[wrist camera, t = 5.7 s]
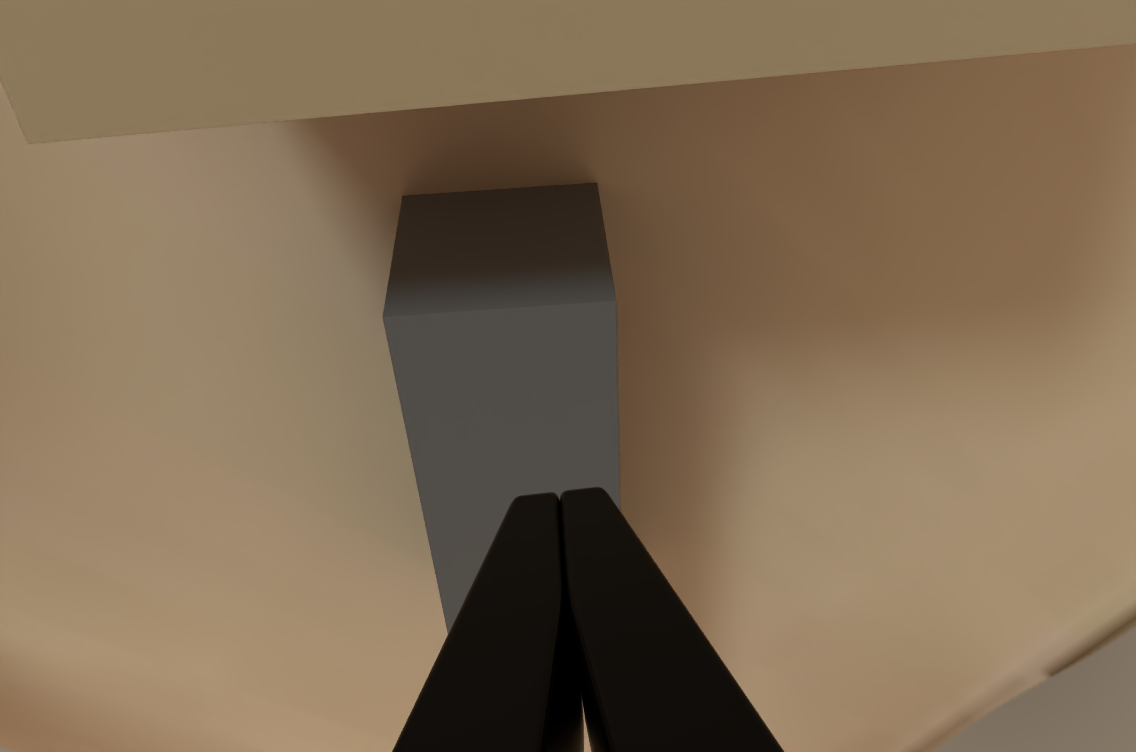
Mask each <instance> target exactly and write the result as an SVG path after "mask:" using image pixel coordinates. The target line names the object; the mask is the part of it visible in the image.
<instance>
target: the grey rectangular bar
mask: <svg viewBox="0 0 1136 752" xmlns="http://www.w3.org/2000/svg"><path fill="white" fill-rule="evenodd" d="M383 321H384V326H385V331H386V336H387V340H388V345H389V350H390V355H391V360H392V365H393V370H394V374H395V379H396V384H397V389H398V394H399V399H400V404H401V408H402V413H403V418H404V423H405V428H406V433H407V438H408V442H409V447H410V452H411V457H412V462H413V467H414V472H415V476H416V481H417V486H418V491H419V496H420V501H421V506H422V510H423V515H424V520H425V525H426V530H427V535H428V540H429V544H430V549H431V554H432V559H433V564H434V569H435V574H436V578H437V583H438V588H439V593H440V598H441V603H442V608H443V612H444V617H445V622H446V627H447V632H448V634H449V632H450V630H451V627H452V625H453V623H454V621H455V619H456V617H457V615H458V613H459V611H460V609H461V607H462V604H463V602H464V600H465V598H466V596H467V594H468V592H469V590H470V588H471V586H472V584H473V581H474V579H475V577H476V575H477V573H478V571H479V569H480V567H481V565H482V563H483V561H484V558H485V556H486V554H487V552H488V550H489V548H490V546H491V544H492V542H493V540H494V538H495V535H496V533H497V531H498V529H499V527H500V525H501V523H502V521H503V519H504V517H505V515H506V512H507V510H508V508H509V506H510V504H511V503H512V501H513V500H514V499H515V498H516V497H518V496H521V495H530V494H539V493H547V492H553V493H555V494H557V496H558V497H559V500H560V496H561V494H562V493H563V492H564V491H566V490H574V489H582V488H591V487H601V488H603V489H604V490H605V491H606V492H607V493H608V494H609V495H610V497H611V498H612V500H613V501H614V503H615V504H616V506H617V507H618V509H619V510H620V468H619V417H618V365H617V313H616V296H615V290H614V284H613V278H612V271H611V265H610V259H609V253H608V247H607V241H606V235H605V229H604V222H603V216H602V210H601V204H600V198H599V192H598V186H597V183H586V184H571V185H556V186H541V187H527V188H512V189H497V190H482V191H467V192H452V193H438V194H423V195H408V196H403V197H402V203H401V209H400V215H399V221H398V227H397V233H396V239H395V245H394V251H393V257H392V263H391V269H390V275H389V281H388V288H387V294H386V300H385V306H384V312H383Z"/></svg>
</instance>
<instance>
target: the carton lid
mask: <svg viewBox="0 0 1136 752" xmlns="http://www.w3.org/2000/svg"><path fill="white" fill-rule="evenodd" d="M1128 44H1136V0H0V80H1V82H2V85H3V87H4V89H5V92H6V94H7V96H8V99H9V101H10V103H11V106H12V108H13V110H14V113H15V115H16V117H17V120H18V122H19V124H20V127H21V129H22V131H23V134H24V136H25V138H26V141H27V143H28V144H33V143H44V142H55V141H67V140H78V139H89V138H100V137H111V136H122V135H133V134H144V133H155V132H166V131H177V130H188V129H199V128H210V127H221V126H232V125H243V124H255V123H266V122H277V121H288V120H299V119H310V118H321V117H332V116H343V115H354V114H365V113H376V112H387V111H398V110H409V109H420V108H431V107H442V106H454V105H465V104H476V103H487V102H498V101H509V100H520V99H531V98H542V97H553V96H564V95H575V94H586V93H597V92H608V91H619V90H630V89H642V88H653V87H664V86H675V85H686V84H697V83H708V82H719V81H730V80H741V79H752V78H763V77H774V76H785V75H796V74H807V73H818V72H829V71H841V70H852V69H863V68H874V67H885V66H896V65H907V64H918V63H929V62H940V61H951V60H962V59H973V58H984V57H995V56H1006V55H1017V54H1029V53H1040V52H1051V51H1062V50H1073V49H1084V48H1095V47H1106V46H1117V45H1128Z"/></svg>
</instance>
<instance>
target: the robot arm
mask: <svg viewBox="0 0 1136 752" xmlns="http://www.w3.org/2000/svg"><path fill="white" fill-rule="evenodd" d="M582 701H583V705H582ZM583 708H584V714H585V721H586V726H587V732H588V737H589V742H590V747H591V752H784V751H783V749H782V748H781V746H780V745H779V743H778V742H777V740H776V739H775V737H774V736H773V734H772V733H771V732H770V730H769V729H768V727H767V726H766V724H765V723H764V721H763V720H762V718H761V717H760V715H759V714H758V712H757V711H756V710H755V708H754V707H753V705H752V704H751V702H750V701H749V699H748V698H747V696H746V695H745V693H744V692H743V690H742V689H741V688H740V686H739V685H738V683H737V682H736V680H735V679H734V677H733V676H732V674H731V673H730V671H729V670H728V668H727V667H726V666H725V664H724V663H723V661H722V660H721V658H720V657H719V655H718V654H717V652H716V651H715V649H714V648H713V646H712V645H711V644H710V642H709V641H708V639H707V638H706V636H705V635H704V633H703V632H702V630H701V629H700V627H699V626H698V624H697V623H696V622H695V620H694V619H693V617H692V616H691V614H690V613H689V611H688V610H687V608H686V607H685V605H684V604H683V602H682V601H681V600H680V598H679V597H678V595H677V594H676V592H675V591H674V589H673V588H672V586H671V585H670V583H669V582H668V580H667V579H666V578H665V576H664V575H663V573H662V572H661V570H660V569H659V567H658V566H657V564H656V563H655V561H654V560H653V558H652V557H651V555H650V554H649V553H648V551H647V550H646V548H645V547H644V545H643V544H642V542H641V541H640V539H639V538H638V536H637V535H636V533H635V532H634V531H633V529H632V528H631V526H630V525H629V523H628V522H627V520H626V519H625V517H624V516H623V514H622V513H621V511H620V510H619V509H618V507H617V506H616V504H615V503H614V501H613V500H612V498H611V497H610V495H609V494H608V493H607V492H606V491H605V490H604V489H603V488H601V487H591V488H582V489H574V490H566V491H564V492H563V493H562V494H561V496H560V500H559V497H558V496H557V494H555V493H553V492H547V493H539V494H530V495H521V496H518V497H516V498H515V499H514V500H513V501H512V503H511V504H510V506H509V508H508V510H507V512H506V515H505V517H504V519H503V521H502V523H501V525H500V527H499V529H498V531H497V533H496V535H495V538H494V540H493V542H492V544H491V546H490V548H489V550H488V552H487V554H486V556H485V558H484V561H483V563H482V565H481V567H480V569H479V571H478V573H477V575H476V577H475V579H474V581H473V584H472V586H471V588H470V590H469V592H468V594H467V596H466V598H465V600H464V602H463V604H462V607H461V609H460V611H459V613H458V615H457V617H456V619H455V621H454V623H453V625H452V627H451V630H450V632H449V634H448V636H447V638H446V640H445V642H444V644H443V646H442V648H441V650H440V653H439V655H438V657H437V659H436V661H435V663H434V665H433V667H432V669H431V671H430V673H429V676H428V678H427V680H426V682H425V684H424V686H423V688H422V690H421V692H420V694H419V696H418V699H417V701H416V703H415V705H414V707H413V709H412V711H411V713H410V715H409V717H408V719H407V722H406V724H405V726H404V728H403V730H402V732H401V734H400V736H399V738H398V740H397V742H396V745H395V747H394V749H393V751H392V752H584V720H583Z"/></svg>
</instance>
